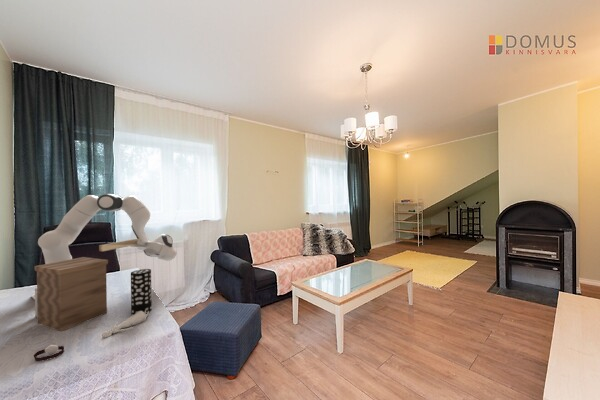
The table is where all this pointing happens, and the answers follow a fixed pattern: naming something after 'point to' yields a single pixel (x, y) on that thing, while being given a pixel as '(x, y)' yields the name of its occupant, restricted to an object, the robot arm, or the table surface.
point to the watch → (49, 350)
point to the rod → (118, 245)
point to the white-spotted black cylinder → (141, 291)
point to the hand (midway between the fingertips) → (134, 241)
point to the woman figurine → (127, 323)
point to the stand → (71, 292)
